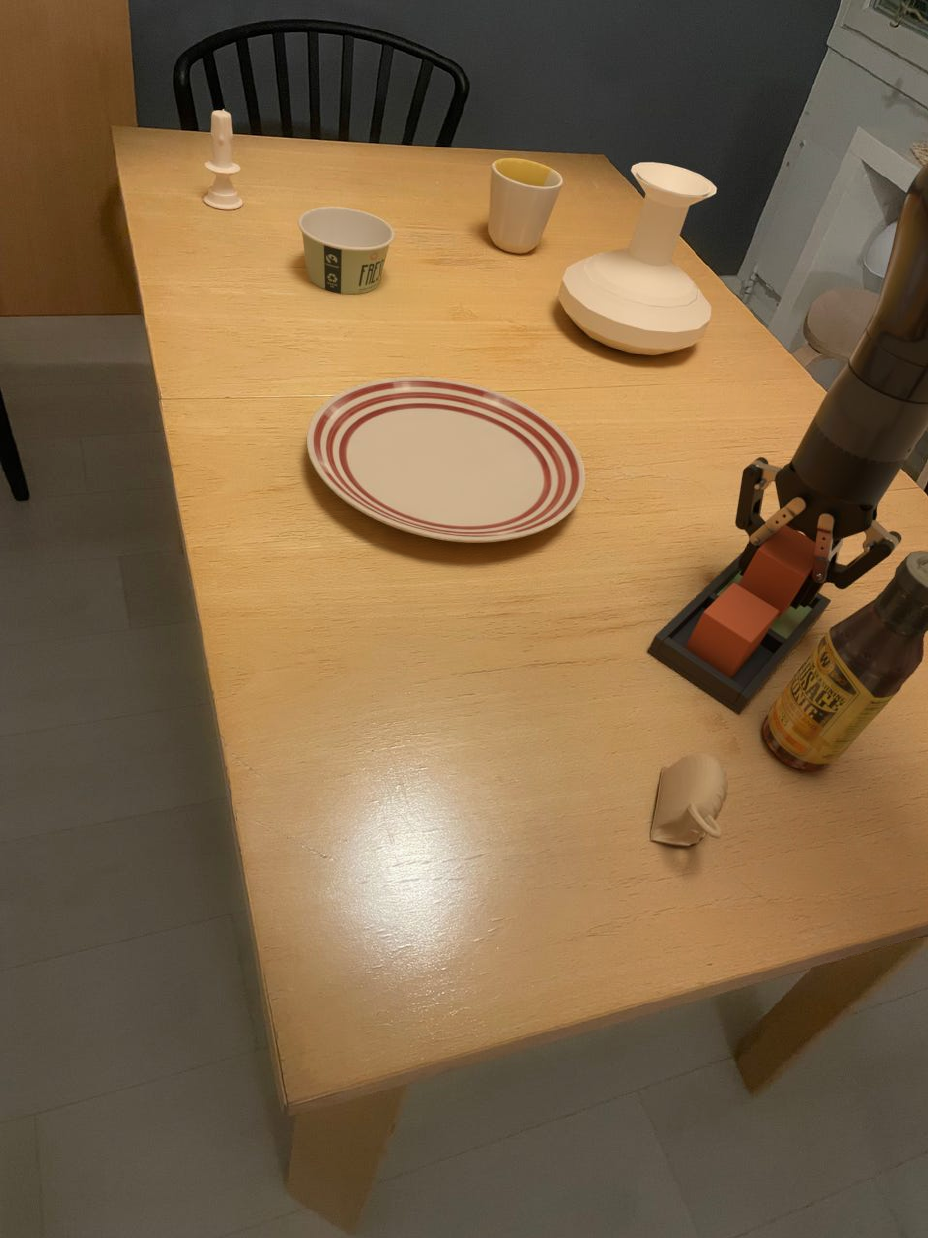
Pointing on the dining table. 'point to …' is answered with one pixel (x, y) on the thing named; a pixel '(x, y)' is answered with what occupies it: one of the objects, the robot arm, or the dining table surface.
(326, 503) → the dining table surface
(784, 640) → the pad holder
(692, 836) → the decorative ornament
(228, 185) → the candle
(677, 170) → the white vase
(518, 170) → the mug
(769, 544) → the orange block
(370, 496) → the dinner plate
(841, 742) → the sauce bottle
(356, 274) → the food container
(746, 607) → the orange rectangular block
